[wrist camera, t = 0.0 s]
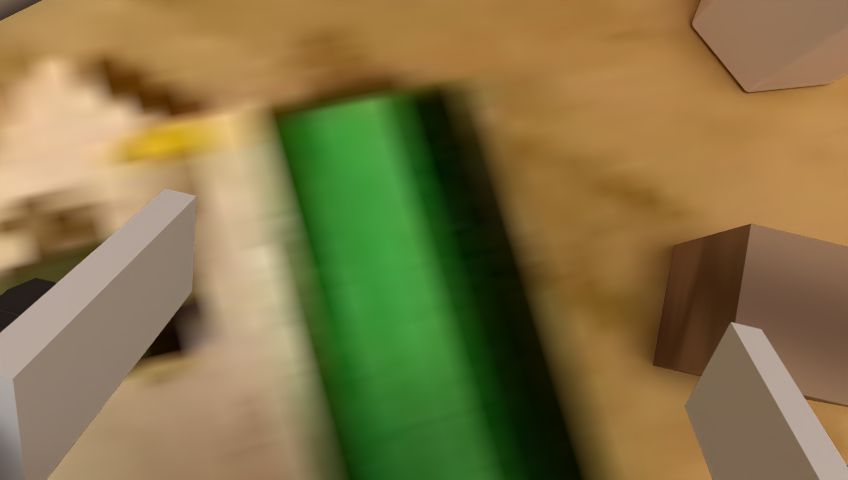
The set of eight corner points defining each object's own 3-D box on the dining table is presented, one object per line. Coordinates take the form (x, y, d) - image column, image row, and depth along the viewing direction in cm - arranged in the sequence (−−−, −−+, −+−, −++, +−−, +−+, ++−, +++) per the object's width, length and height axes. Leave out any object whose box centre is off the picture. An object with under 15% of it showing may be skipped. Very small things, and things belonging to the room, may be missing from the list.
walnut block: (772, 393, 31) (879, 412, 24) (652, 364, 31) (726, 377, 24) (790, 272, 32) (899, 258, 25) (673, 245, 32) (751, 223, 25)
